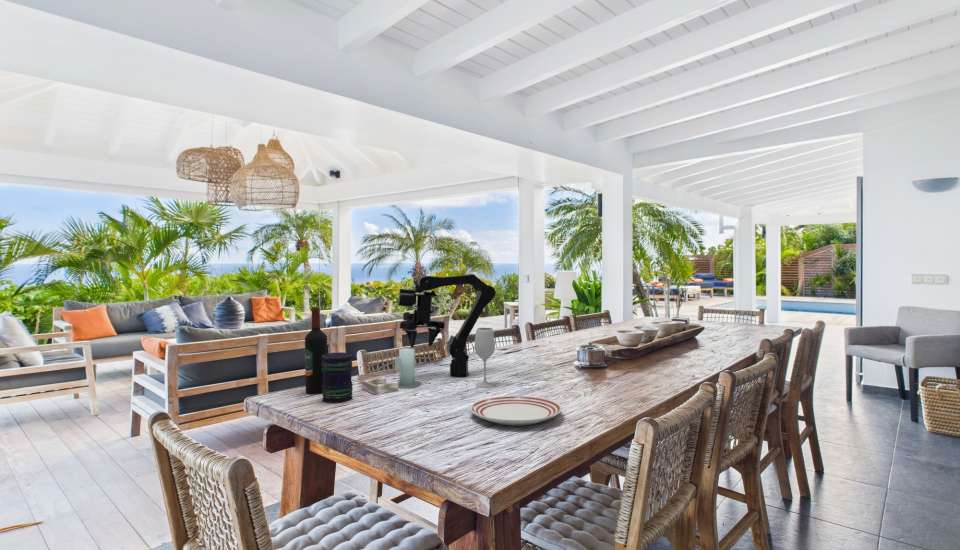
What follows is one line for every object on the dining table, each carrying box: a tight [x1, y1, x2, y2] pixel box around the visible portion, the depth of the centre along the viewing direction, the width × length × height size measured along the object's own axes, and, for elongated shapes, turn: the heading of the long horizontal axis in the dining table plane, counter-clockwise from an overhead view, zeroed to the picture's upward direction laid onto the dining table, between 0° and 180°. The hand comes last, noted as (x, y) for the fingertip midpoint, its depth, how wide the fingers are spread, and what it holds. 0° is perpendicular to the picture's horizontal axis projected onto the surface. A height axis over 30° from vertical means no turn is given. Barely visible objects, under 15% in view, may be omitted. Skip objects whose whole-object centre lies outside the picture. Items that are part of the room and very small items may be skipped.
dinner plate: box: [469, 395, 563, 426], centre depth 153 cm, size 28×27×3 cm
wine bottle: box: [304, 306, 328, 395], centre depth 182 cm, size 8×8×30 cm
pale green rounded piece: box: [394, 347, 416, 386], centre depth 191 cm, size 8×6×13 cm
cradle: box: [361, 377, 399, 395], centre depth 184 cm, size 9×10×3 cm
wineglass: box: [474, 327, 496, 388], centre depth 190 cm, size 8×8×21 cm
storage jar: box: [322, 352, 354, 404], centre depth 172 cm, size 10×10×15 cm
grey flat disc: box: [397, 380, 422, 389], centre depth 191 cm, size 11×11×1 cm
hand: (421, 346), depth 203 cm, fingers open, 9 cm apart
